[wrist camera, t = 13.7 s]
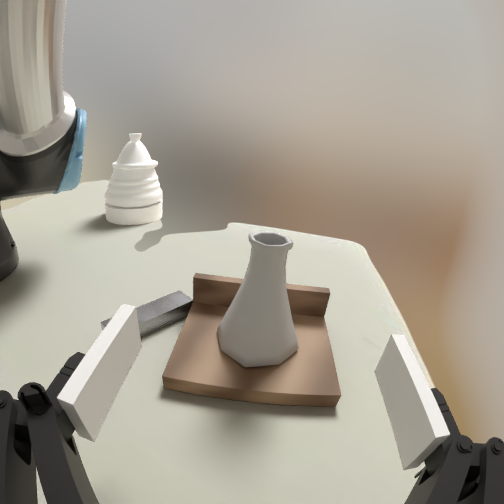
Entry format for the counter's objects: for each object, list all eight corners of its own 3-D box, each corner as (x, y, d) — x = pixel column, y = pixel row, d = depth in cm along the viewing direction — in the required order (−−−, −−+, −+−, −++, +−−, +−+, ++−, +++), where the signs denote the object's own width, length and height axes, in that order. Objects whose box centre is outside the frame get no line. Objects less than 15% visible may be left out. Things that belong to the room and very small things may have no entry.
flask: (204, 327, 27) (207, 226, 23) (268, 311, 31) (282, 220, 27) (240, 380, 21) (253, 265, 17) (311, 353, 25) (338, 250, 21)
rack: (164, 387, 21) (158, 348, 19) (195, 308, 32) (195, 273, 30) (335, 406, 21) (352, 369, 19) (319, 322, 32) (328, 288, 30)
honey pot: (166, 222, 58) (169, 133, 51) (105, 227, 53) (103, 135, 46) (158, 206, 69) (160, 132, 62) (106, 210, 63) (106, 134, 56)
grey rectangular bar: (104, 337, 26) (100, 322, 25) (179, 305, 33) (179, 290, 32) (115, 351, 24) (111, 336, 24) (193, 315, 32) (193, 300, 31)
